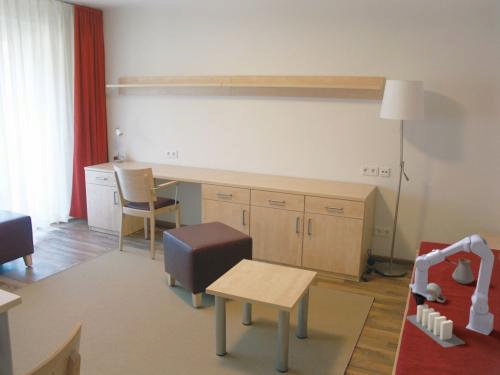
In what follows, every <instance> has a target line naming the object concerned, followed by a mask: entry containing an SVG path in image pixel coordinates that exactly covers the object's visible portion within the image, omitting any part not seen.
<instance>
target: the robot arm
mask: <svg viewBox="0 0 500 375" xmlns="http://www.w3.org/2000/svg"><path fill="white" fill-rule="evenodd" d="M461 251H463V252H466V253H470V252H472V253H473V254H475V255H477V256H479V257H480V258H481V260H480V265H479V271H478V275H477V276H478V278H477V280H476V281H477V283H476V288H475V289H474V293H473V294H472V295H471V298H470V299H471V300H470V301H471V302H472V303H471V304H472V305H471V306H470V309H469V322H468V324H467V326H465V329H467V330H470V331H474V332H477V333H480V334H483V335H485V336H488V335H489V334H490V333H491V332H492V331H493V329H494V314H493V313H492V312H489V309H490V308H489V307H490V306H489V304H488V302H489V297H488V296H489V295H488V294H489V290H490V284H491V278H492V272H493V267H494V262H495V255H494V253H493V251H492V249H491V248H490V246H489V244H488V243H487V240H486V239H485V238H484V237H482V236H481V235H480V234H477V233H476V234H472V235H470V236H467V237H466V236H465V237H464V238H463V239H461V240H459V241H457V242H455V243H453V244H451V245H449V246H447V247H445V248H443V249H438V248H437V249H435V248H434V249H432V250H431V251H430V252H428V253H427V254H422V255H420V256H419V255H418V256H417V257H416V259H415V272H414V283H410V284H409V285H408V286H409V287H408V288H409V289H412V290H411V291H412V297H413V298H414V301H415V305H416V307H417V306H418V305H424V304H425V301H428V300H432V295H430V293H429V292H428V291H427V285H428V278H429V272H428V270H429V268H430V267H433V266H435V265H437V264H440V263H441V262H444V261H445V260H444V259H445V258H446V257H449V256H452V255H454V254H456V253H459V252H461ZM426 299H427V300H426Z"/></svg>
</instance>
